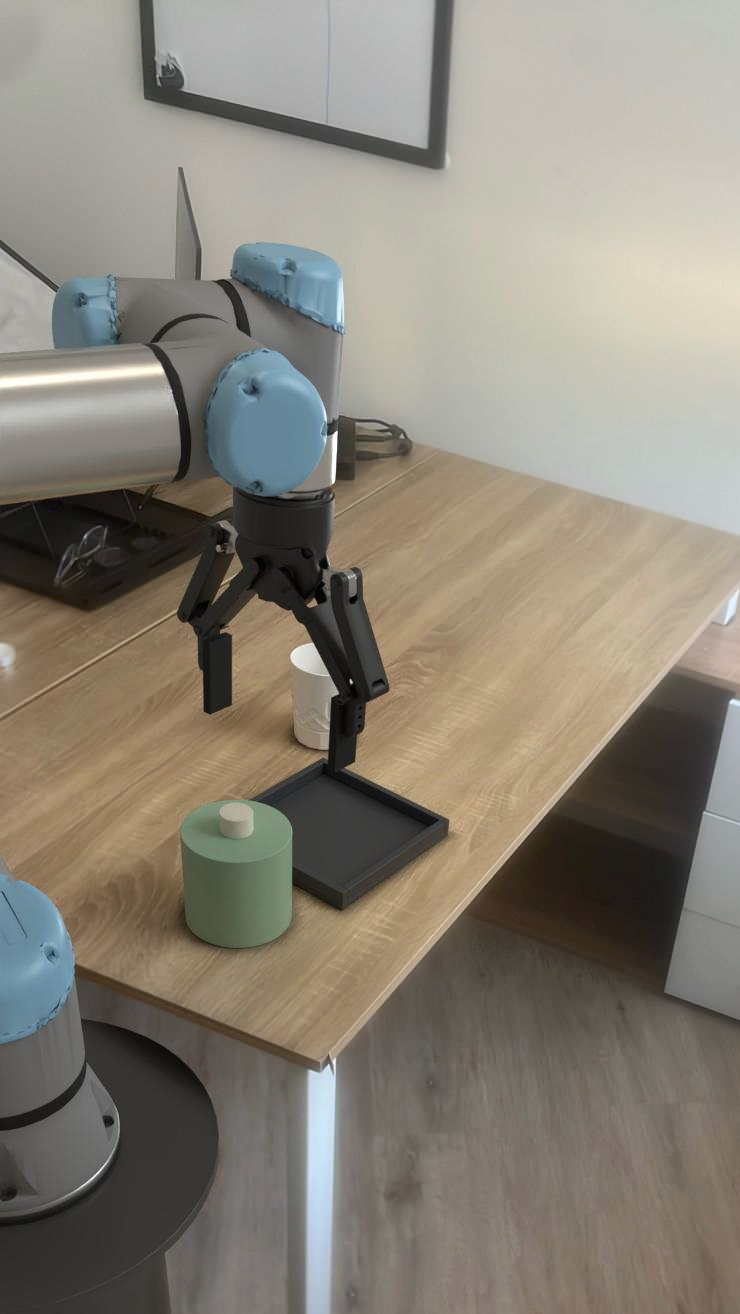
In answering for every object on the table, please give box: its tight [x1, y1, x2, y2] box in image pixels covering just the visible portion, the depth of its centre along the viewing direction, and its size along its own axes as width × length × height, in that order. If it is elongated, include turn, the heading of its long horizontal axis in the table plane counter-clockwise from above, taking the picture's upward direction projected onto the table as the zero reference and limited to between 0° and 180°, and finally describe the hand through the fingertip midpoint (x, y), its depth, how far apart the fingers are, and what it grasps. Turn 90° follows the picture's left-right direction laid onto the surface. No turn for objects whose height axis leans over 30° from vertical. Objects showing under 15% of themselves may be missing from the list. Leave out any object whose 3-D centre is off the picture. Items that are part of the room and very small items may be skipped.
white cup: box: [289, 642, 353, 751], centre depth 146 cm, size 8×8×10 cm
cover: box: [179, 799, 293, 949], centre depth 119 cm, size 10×10×12 cm
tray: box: [248, 757, 450, 911], centre depth 134 cm, size 18×18×2 cm
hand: (278, 737), depth 107 cm, fingers open, 13 cm apart
